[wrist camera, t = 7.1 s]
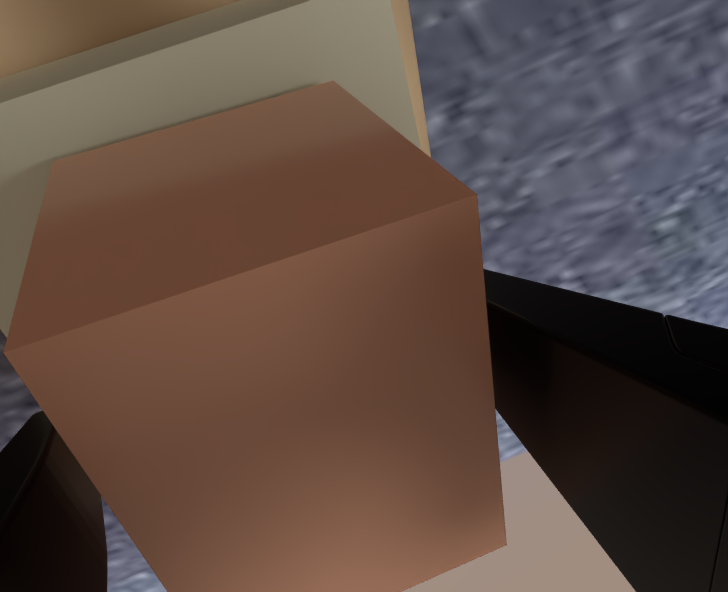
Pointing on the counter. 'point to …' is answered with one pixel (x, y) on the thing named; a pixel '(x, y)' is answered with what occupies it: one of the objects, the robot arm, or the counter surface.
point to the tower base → (133, 16)
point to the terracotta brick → (270, 348)
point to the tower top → (184, 92)
